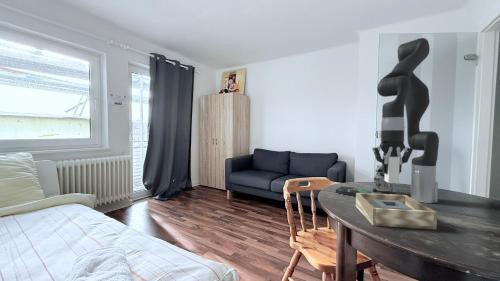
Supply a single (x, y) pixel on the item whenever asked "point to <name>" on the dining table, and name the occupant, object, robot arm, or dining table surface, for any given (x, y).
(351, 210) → the dining table surface
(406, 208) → the block
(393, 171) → the plug
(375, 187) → the figurine
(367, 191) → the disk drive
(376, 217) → the walled box
